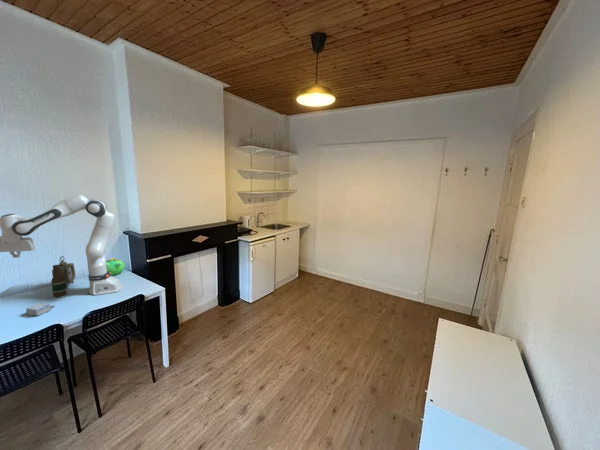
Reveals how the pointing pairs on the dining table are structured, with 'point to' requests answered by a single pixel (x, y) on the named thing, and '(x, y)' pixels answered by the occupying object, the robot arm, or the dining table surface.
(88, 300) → the dining table surface
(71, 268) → the old metal lantern
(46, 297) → the dining table surface
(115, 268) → the toy bird
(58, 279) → the beer bottle
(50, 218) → the robot arm
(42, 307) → the medicine box
